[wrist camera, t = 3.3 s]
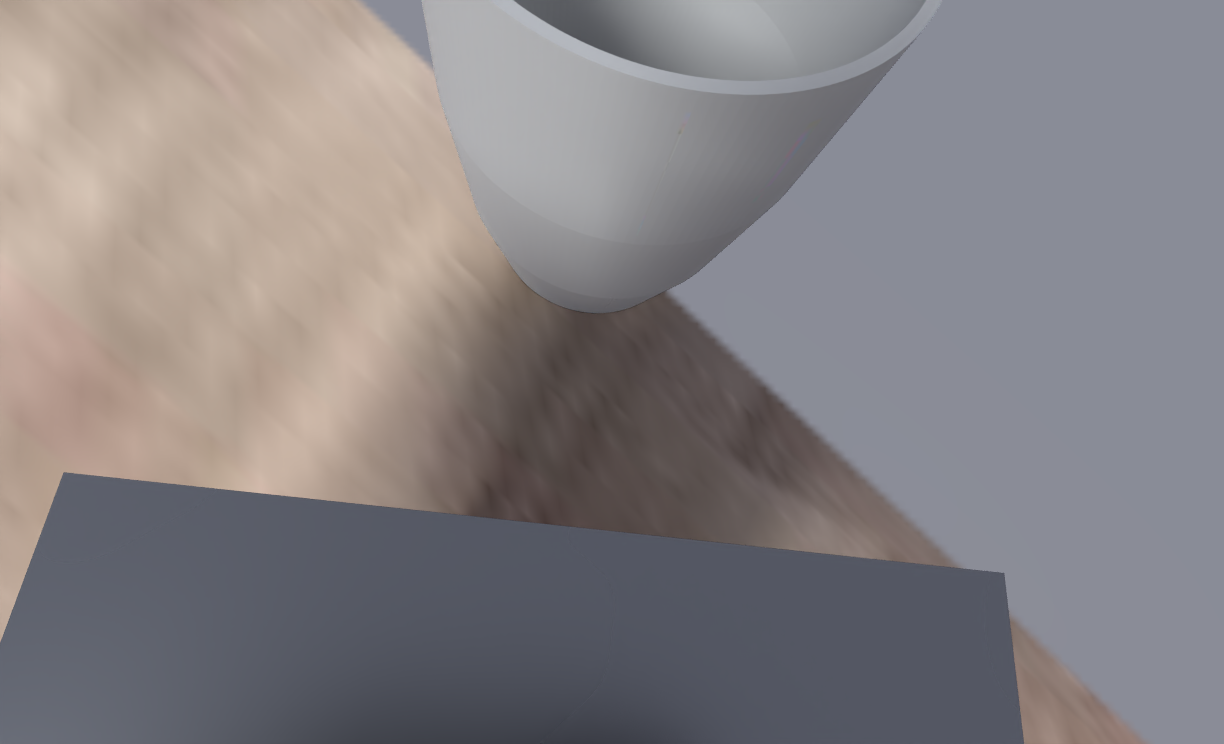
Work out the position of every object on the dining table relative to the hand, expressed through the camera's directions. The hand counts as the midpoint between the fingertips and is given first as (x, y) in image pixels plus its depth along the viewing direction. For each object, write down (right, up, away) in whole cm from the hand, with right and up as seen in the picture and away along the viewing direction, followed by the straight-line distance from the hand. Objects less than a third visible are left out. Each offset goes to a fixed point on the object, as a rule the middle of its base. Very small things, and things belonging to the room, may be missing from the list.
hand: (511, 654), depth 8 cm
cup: (+1, +7, +11) cm, 13 cm away
